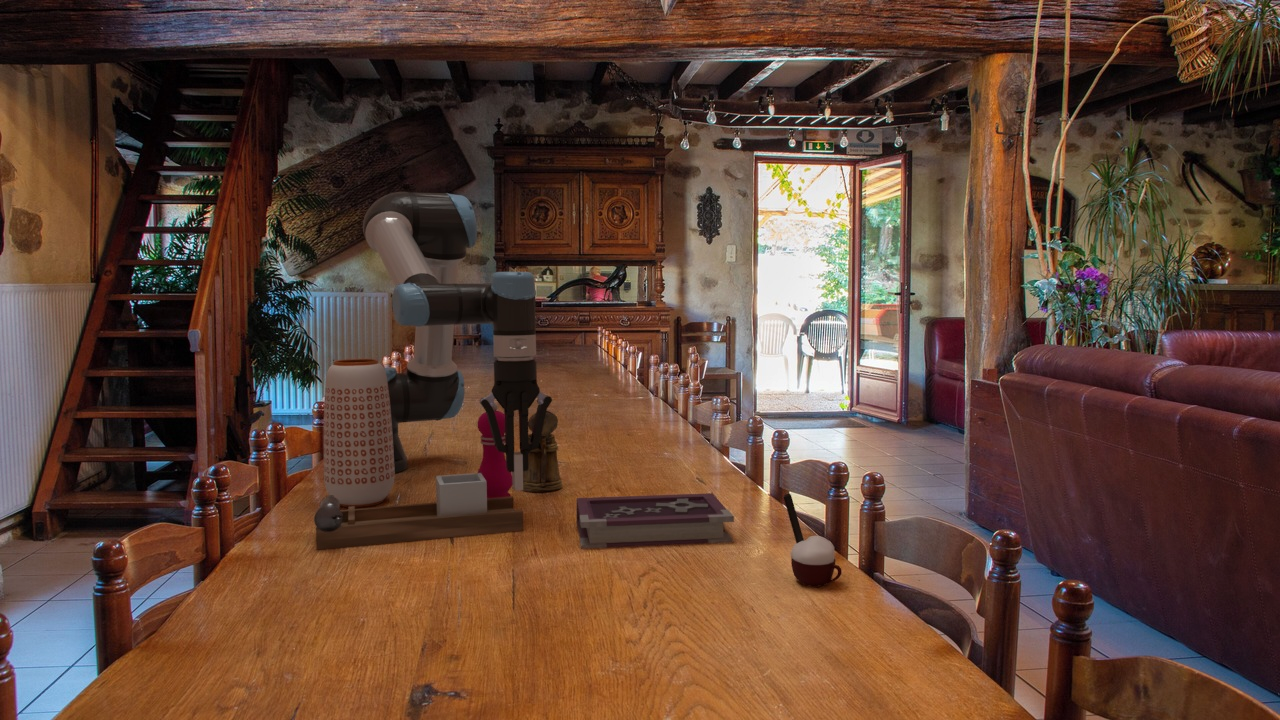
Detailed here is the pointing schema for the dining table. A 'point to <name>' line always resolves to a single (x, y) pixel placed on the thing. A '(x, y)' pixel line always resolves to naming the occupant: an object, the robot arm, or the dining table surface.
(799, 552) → the cocoa
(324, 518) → the dark grey rounded lump
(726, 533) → the book
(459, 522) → the bay
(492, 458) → the pepper mill
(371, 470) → the planter
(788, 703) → the dining table surface
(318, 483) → the dining table surface
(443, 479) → the box
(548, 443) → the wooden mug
